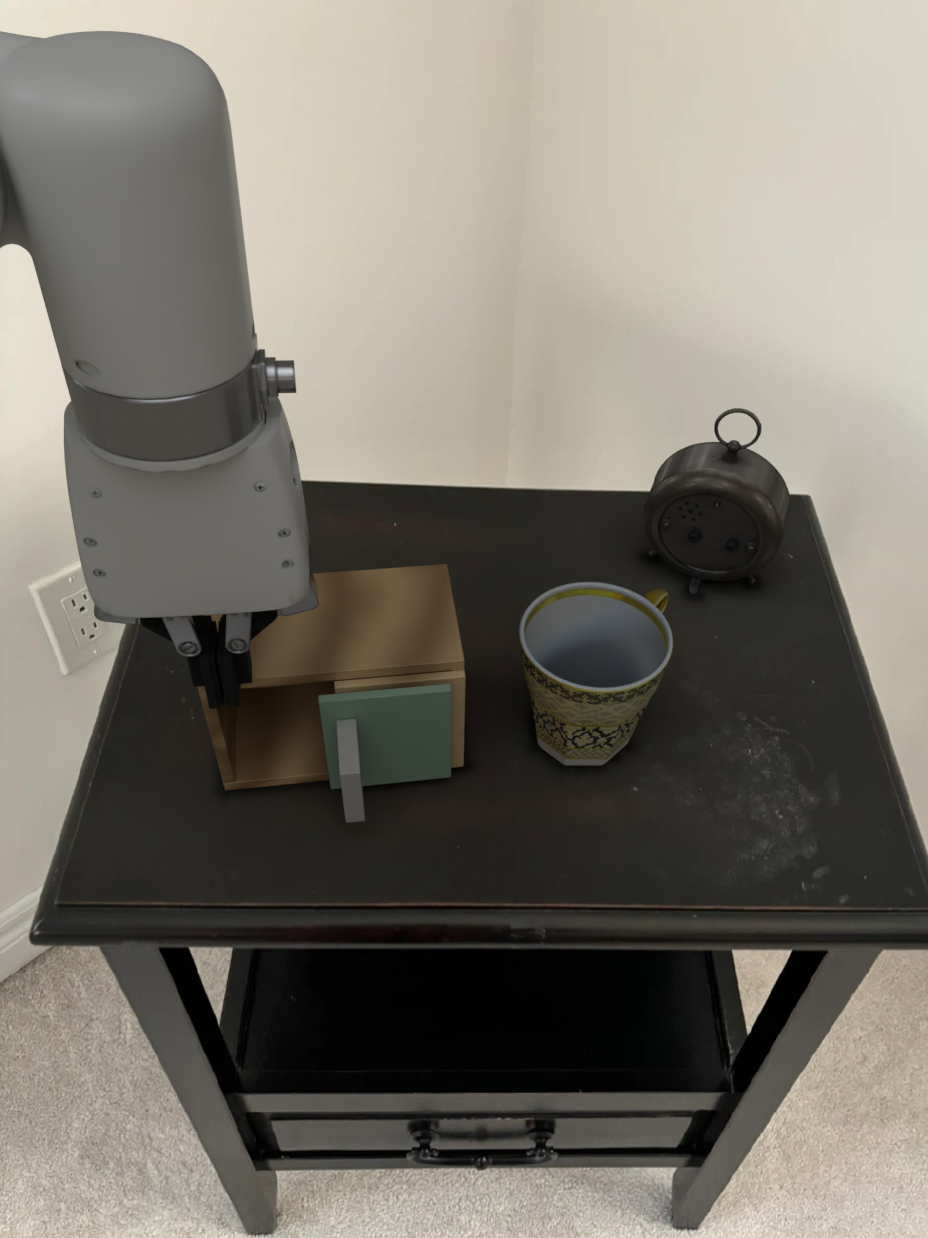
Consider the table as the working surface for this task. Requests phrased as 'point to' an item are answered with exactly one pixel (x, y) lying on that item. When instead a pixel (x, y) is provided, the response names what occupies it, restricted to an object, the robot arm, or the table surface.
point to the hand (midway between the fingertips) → (225, 688)
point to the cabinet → (338, 670)
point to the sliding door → (385, 739)
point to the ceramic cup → (592, 666)
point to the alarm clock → (717, 509)
